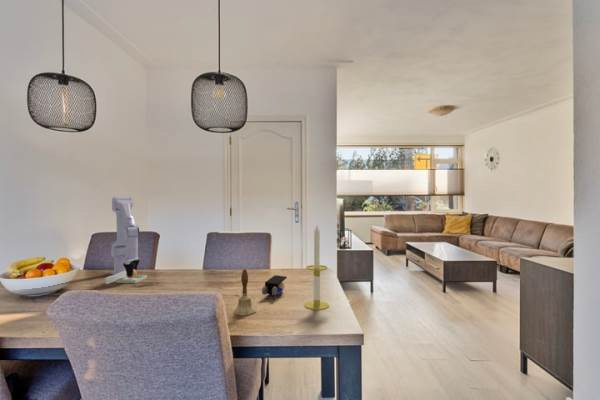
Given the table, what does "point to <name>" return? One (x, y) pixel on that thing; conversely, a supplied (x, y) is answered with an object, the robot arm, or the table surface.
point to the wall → (115, 277)
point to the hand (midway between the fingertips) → (131, 275)
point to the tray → (131, 279)
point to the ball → (133, 274)
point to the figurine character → (273, 286)
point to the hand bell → (244, 299)
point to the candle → (316, 276)
